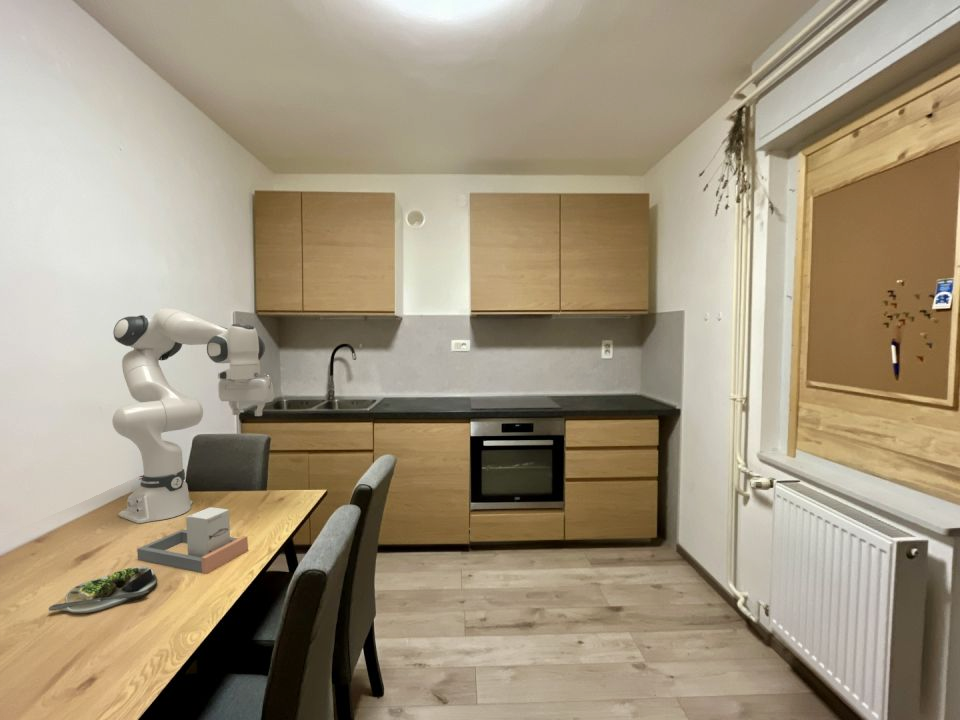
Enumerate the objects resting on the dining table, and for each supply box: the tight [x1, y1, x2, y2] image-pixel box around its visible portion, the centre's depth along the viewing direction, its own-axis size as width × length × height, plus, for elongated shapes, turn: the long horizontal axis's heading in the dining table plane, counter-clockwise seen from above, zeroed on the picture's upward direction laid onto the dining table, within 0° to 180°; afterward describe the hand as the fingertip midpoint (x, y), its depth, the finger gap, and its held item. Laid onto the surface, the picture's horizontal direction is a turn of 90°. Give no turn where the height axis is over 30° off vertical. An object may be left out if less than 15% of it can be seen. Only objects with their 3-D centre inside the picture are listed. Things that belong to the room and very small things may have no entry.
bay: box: [136, 528, 249, 575], centre depth 126 cm, size 25×13×4 cm, turn 71°
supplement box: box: [185, 506, 231, 557], centre depth 124 cm, size 7×7×13 cm
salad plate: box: [48, 565, 158, 614], centre depth 107 cm, size 19×18×5 cm
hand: (247, 415), depth 151 cm, fingers open, 8 cm apart
